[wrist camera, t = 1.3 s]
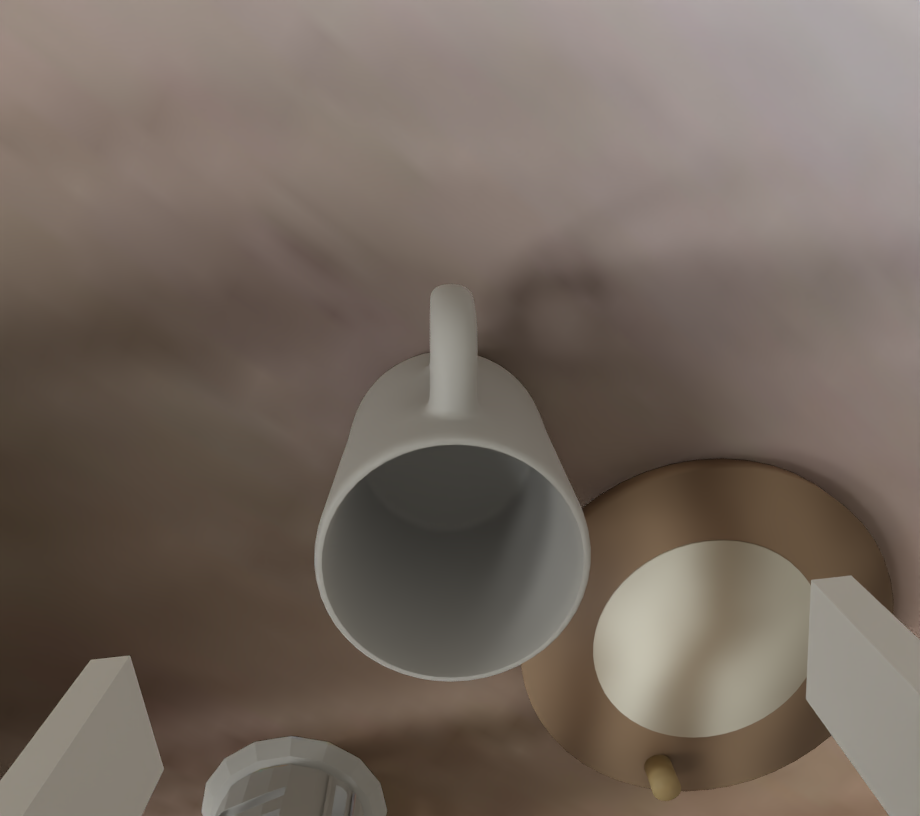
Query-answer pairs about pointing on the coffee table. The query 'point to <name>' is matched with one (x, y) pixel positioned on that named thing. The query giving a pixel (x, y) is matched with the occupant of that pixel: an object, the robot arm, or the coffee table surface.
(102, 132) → the coffee table surface
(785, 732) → the ring
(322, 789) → the french press
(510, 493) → the mug
